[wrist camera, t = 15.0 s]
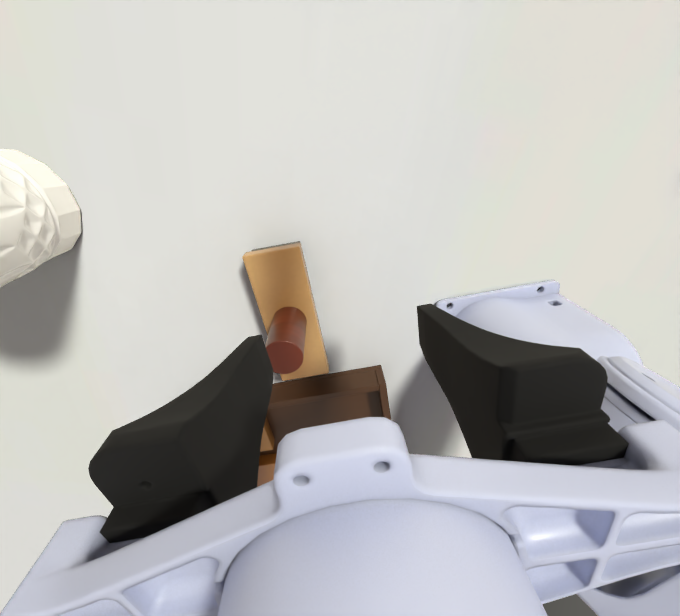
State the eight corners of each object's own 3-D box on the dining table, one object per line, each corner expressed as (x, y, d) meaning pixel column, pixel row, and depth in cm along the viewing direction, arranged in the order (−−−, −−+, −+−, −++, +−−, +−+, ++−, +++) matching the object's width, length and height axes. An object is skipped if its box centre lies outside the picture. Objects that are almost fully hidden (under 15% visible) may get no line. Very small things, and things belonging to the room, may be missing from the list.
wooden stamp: (301, 237, 22) (293, 270, 16) (328, 357, 27) (330, 416, 21) (248, 247, 22) (221, 283, 16) (285, 364, 27) (274, 426, 21)
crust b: (279, 452, 31) (278, 462, 30) (289, 478, 33) (288, 489, 32) (240, 458, 31) (237, 469, 30) (252, 484, 33) (249, 495, 32)
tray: (380, 364, 27) (385, 383, 25) (396, 470, 34) (401, 492, 32) (200, 396, 28) (189, 417, 26) (248, 493, 34) (243, 517, 32)
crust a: (263, 408, 28) (261, 418, 27) (275, 439, 30) (273, 450, 29) (220, 415, 29) (216, 426, 27) (234, 445, 30) (231, 456, 29)
